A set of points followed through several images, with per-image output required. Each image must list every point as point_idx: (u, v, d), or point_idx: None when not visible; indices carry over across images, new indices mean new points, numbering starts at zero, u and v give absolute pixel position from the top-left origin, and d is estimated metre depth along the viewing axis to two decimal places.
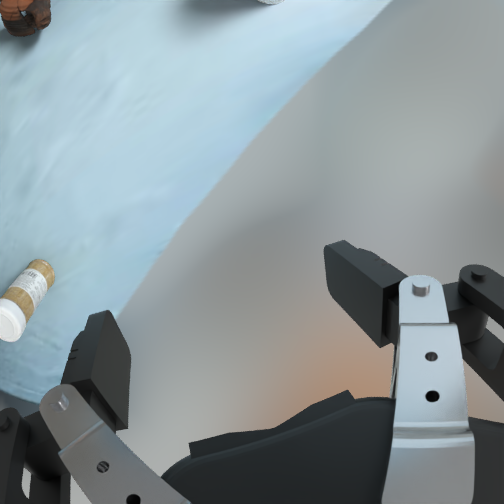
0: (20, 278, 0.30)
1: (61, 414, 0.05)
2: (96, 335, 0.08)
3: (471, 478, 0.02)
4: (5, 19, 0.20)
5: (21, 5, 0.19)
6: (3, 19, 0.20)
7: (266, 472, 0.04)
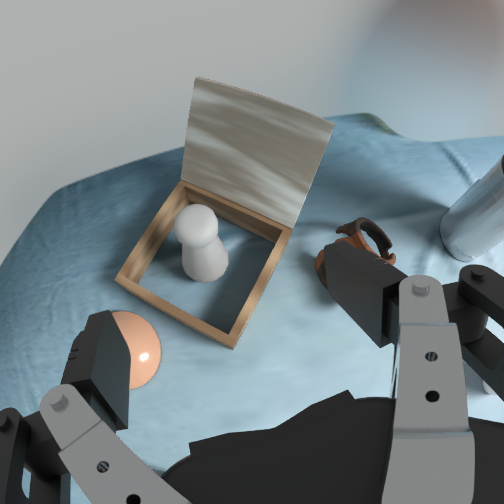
0: None
1: (61, 414, 0.05)
2: (96, 335, 0.08)
3: (471, 478, 0.02)
4: None
5: None
6: None
7: (266, 472, 0.04)
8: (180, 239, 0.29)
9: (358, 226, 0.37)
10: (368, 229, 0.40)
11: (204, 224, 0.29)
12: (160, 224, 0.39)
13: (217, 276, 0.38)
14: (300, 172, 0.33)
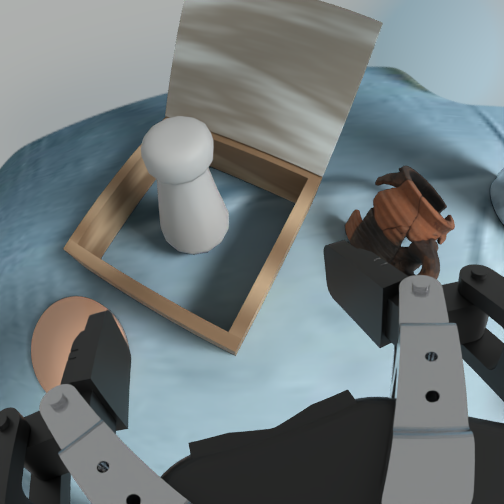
0: None
1: (61, 414, 0.05)
2: (96, 335, 0.08)
3: (471, 478, 0.02)
4: (376, 220, 0.25)
5: (415, 231, 0.23)
6: (372, 216, 0.25)
7: (266, 472, 0.04)
8: (149, 166, 0.17)
9: (407, 173, 0.24)
10: (414, 184, 0.28)
11: (190, 139, 0.16)
12: (132, 173, 0.26)
13: (212, 243, 0.25)
14: (336, 89, 0.21)
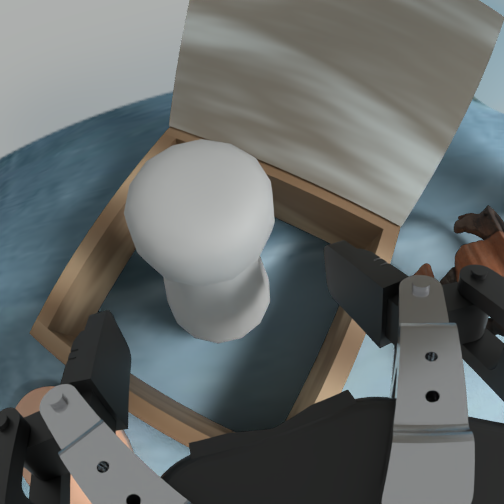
0: None
1: (61, 414, 0.05)
2: (96, 335, 0.08)
3: (471, 478, 0.02)
4: None
5: None
6: (453, 280, 0.17)
7: (266, 472, 0.04)
8: (145, 255, 0.08)
9: (496, 220, 0.16)
10: None
11: (231, 201, 0.08)
12: (122, 215, 0.17)
13: (247, 331, 0.16)
14: (438, 104, 0.12)
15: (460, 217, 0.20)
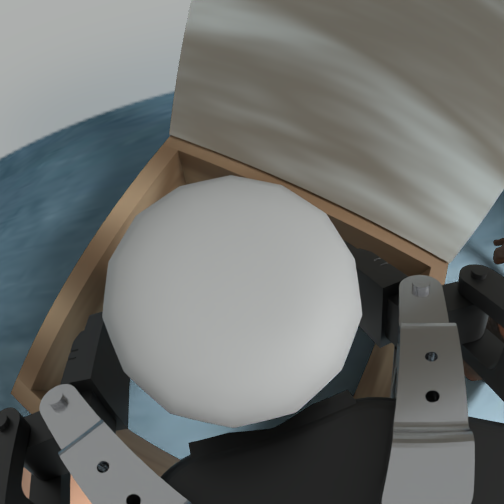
0: None
1: (61, 414, 0.05)
2: (96, 335, 0.08)
3: (471, 478, 0.02)
4: (499, 327, 0.13)
5: None
6: None
7: (266, 472, 0.04)
8: None
9: None
10: None
11: (303, 314, 0.04)
12: (112, 251, 0.14)
13: None
14: None
15: (496, 242, 0.16)
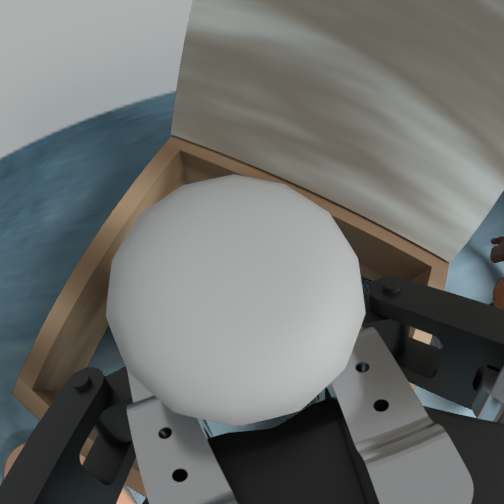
0: None
1: None
2: None
3: (471, 478, 0.02)
4: None
5: None
6: None
7: (266, 472, 0.04)
8: None
9: None
10: None
11: (307, 312, 0.04)
12: (113, 250, 0.14)
13: None
14: None
15: (493, 240, 0.16)
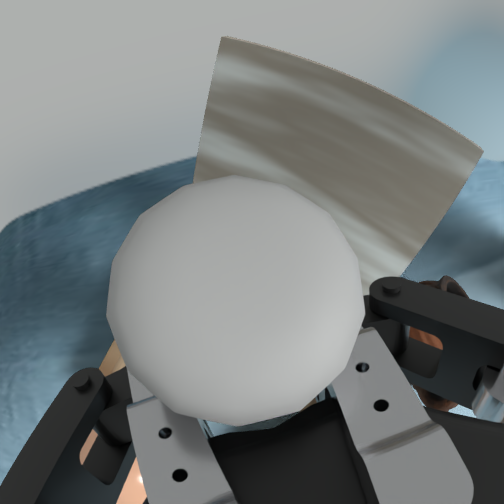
0: None
1: None
2: None
3: (471, 478, 0.02)
4: None
5: None
6: None
7: (266, 472, 0.04)
8: None
9: None
10: (446, 290, 0.25)
11: (307, 313, 0.04)
12: None
13: None
14: (410, 225, 0.18)
15: None
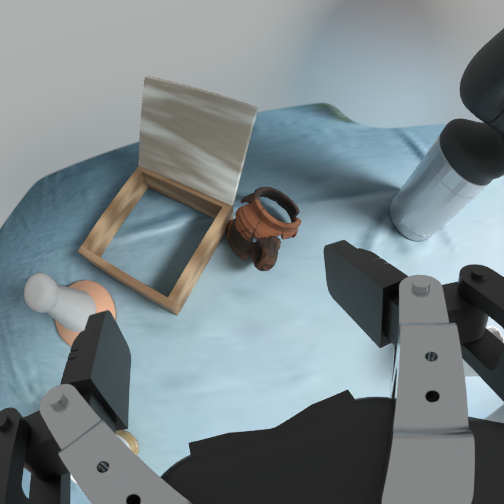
0: None
1: (61, 414, 0.05)
2: (96, 335, 0.08)
3: (471, 478, 0.02)
4: (236, 226, 0.41)
5: (258, 232, 0.40)
6: (234, 224, 0.42)
7: (266, 472, 0.04)
8: (28, 305, 0.27)
9: (257, 194, 0.41)
10: (275, 198, 0.44)
11: (40, 294, 0.27)
12: (118, 204, 0.42)
13: (84, 328, 0.36)
14: (232, 153, 0.37)
15: None
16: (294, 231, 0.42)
